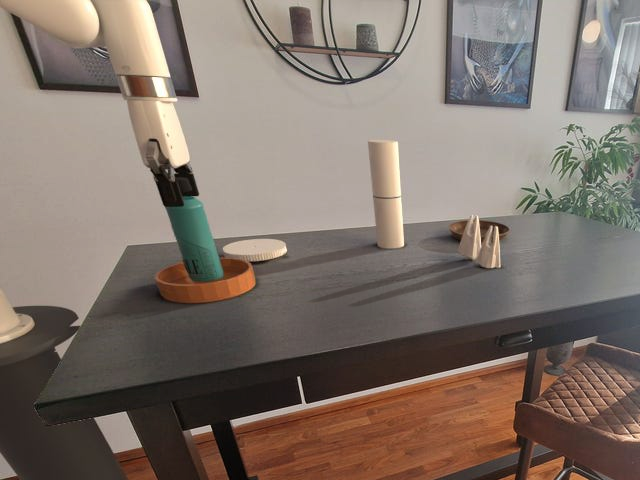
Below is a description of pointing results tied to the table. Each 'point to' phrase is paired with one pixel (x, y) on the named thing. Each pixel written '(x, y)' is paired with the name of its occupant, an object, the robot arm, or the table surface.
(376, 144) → the cylindrical container
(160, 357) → the table surface
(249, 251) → the plastic lid
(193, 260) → the beverage bottle
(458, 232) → the plant saucer
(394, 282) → the table surface
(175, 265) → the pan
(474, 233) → the shaker set
